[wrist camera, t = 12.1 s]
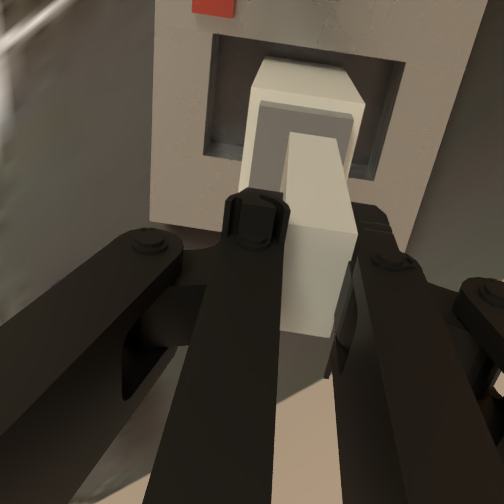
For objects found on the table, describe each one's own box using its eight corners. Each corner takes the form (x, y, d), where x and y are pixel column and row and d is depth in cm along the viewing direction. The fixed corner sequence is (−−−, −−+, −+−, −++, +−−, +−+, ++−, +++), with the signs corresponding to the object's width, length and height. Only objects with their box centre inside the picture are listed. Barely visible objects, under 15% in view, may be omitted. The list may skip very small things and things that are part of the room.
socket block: (172, -80, 25) (153, -91, 21) (478, -35, 25) (506, -38, 21) (161, 202, 33) (146, 226, 29) (393, 237, 32) (404, 266, 29)
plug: (265, 55, 27) (249, 91, 18) (343, 67, 27) (368, 109, 18) (254, 132, 30) (235, 202, 20) (326, 143, 29) (342, 218, 20)
